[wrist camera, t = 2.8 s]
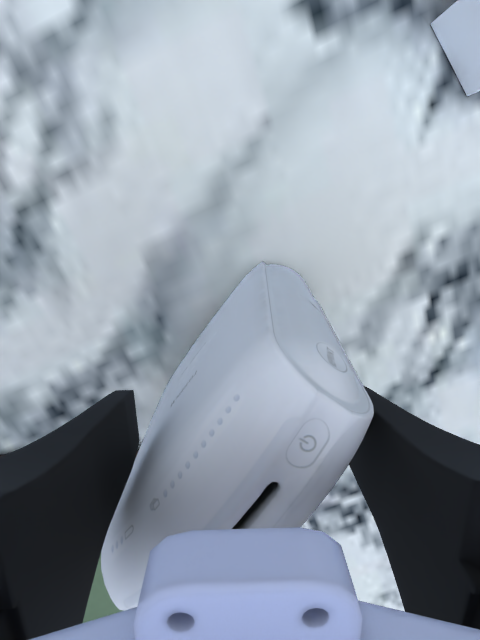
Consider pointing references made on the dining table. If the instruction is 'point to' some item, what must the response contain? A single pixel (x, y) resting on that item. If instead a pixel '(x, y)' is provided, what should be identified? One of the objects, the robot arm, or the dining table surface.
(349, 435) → the photo printer
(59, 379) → the dining table surface
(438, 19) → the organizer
